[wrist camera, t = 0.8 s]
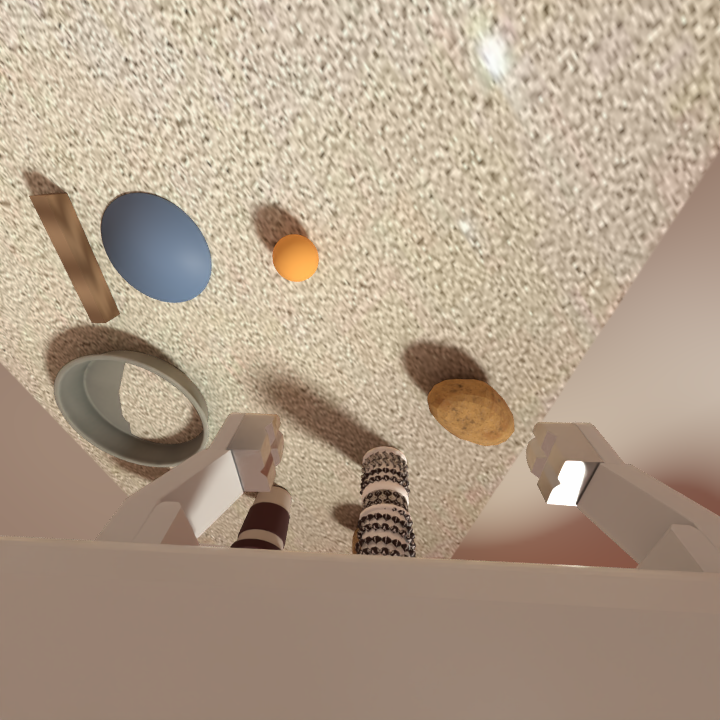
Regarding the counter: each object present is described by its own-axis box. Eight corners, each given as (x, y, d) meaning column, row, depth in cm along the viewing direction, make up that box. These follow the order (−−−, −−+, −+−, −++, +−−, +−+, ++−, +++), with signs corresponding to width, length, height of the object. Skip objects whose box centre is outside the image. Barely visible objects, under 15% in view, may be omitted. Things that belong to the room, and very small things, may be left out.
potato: (448, 349, 49) (459, 381, 42) (517, 392, 52) (537, 427, 45) (409, 392, 53) (413, 427, 46) (474, 429, 57) (487, 466, 50)
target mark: (82, 193, 40) (81, 193, 39) (194, 192, 39) (193, 192, 39) (127, 301, 47) (126, 302, 47) (222, 302, 46) (221, 303, 46)
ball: (276, 230, 41) (262, 239, 36) (320, 230, 40) (312, 239, 36) (282, 273, 44) (270, 287, 39) (323, 273, 43) (316, 288, 39)
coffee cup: (303, 488, 68) (285, 564, 55) (292, 513, 73) (274, 589, 60) (256, 475, 67) (227, 551, 54) (248, 502, 72) (220, 577, 59)
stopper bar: (51, 193, 40) (29, 196, 37) (67, 193, 40) (45, 195, 37) (107, 313, 48) (91, 322, 46) (120, 314, 48) (105, 322, 46)
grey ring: (133, 457, 66) (118, 476, 62) (42, 357, 54) (16, 372, 50) (242, 439, 62) (233, 458, 58) (170, 325, 49) (152, 340, 46)
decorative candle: (416, 451, 60) (435, 611, 39) (398, 481, 65) (407, 638, 44) (369, 439, 59) (362, 597, 38) (354, 470, 64) (342, 626, 43)
